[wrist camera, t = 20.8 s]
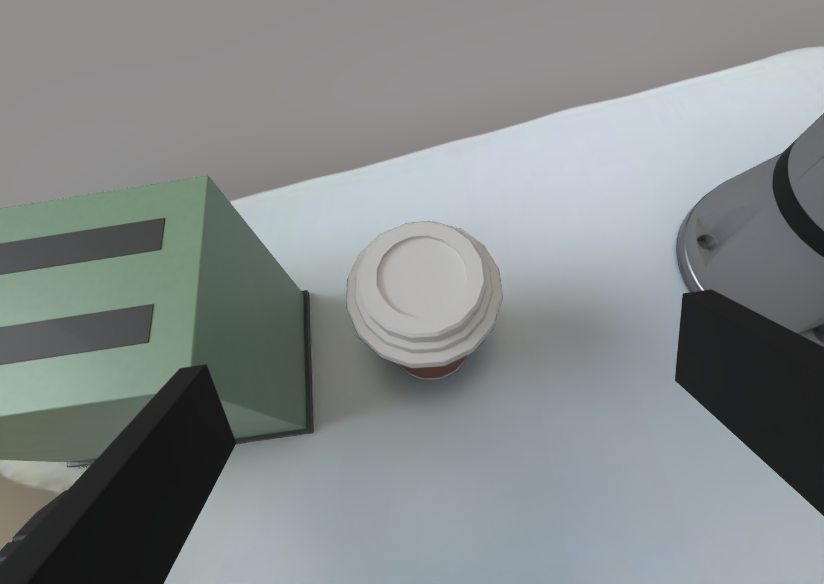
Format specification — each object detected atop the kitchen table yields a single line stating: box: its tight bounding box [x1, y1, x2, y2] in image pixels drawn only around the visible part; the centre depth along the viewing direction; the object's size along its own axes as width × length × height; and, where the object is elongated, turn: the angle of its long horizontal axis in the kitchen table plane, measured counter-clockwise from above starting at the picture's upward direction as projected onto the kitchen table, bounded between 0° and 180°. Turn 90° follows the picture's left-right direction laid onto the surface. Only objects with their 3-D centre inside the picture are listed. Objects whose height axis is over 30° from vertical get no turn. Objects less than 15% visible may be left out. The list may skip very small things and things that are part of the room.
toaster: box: [0, 176, 313, 467], centre depth 27 cm, size 20×12×16 cm, turn 97°
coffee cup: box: [346, 221, 503, 380], centre depth 28 cm, size 9×9×12 cm
